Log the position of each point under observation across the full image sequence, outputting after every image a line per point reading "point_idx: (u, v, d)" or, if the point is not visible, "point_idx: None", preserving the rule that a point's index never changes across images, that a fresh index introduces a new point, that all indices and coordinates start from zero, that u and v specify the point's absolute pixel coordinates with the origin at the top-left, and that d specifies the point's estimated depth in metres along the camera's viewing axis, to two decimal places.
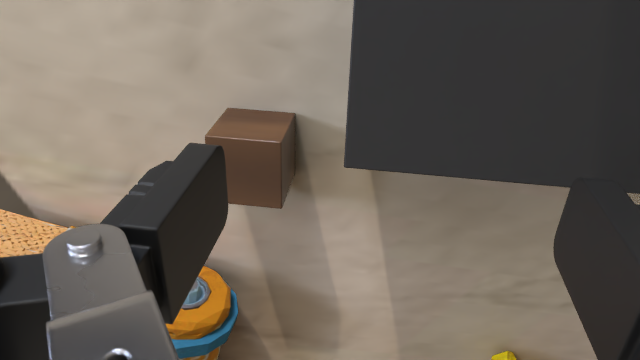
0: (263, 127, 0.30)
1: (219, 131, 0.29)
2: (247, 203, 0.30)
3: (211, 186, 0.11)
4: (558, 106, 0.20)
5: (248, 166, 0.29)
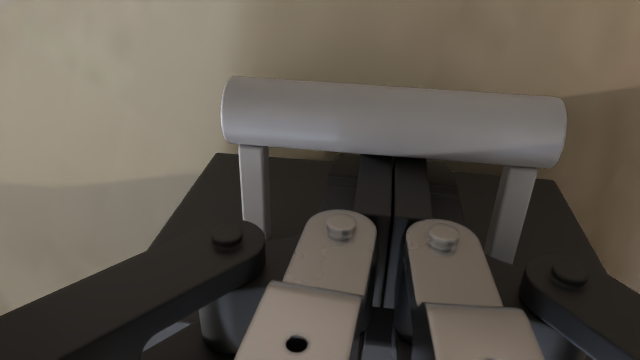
0: None
1: None
2: None
3: None
4: None
5: None
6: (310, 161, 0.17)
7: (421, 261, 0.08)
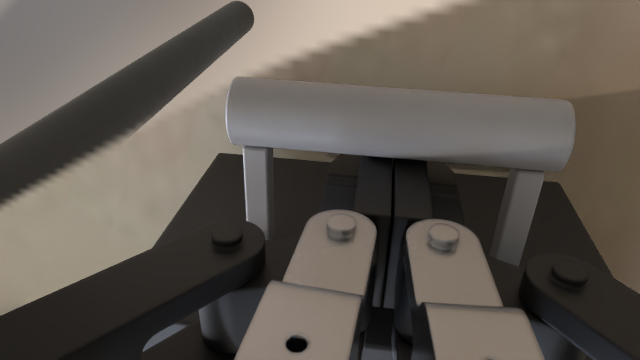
0: None
1: None
2: None
3: None
4: None
5: None
6: (313, 162, 0.17)
7: (421, 261, 0.08)
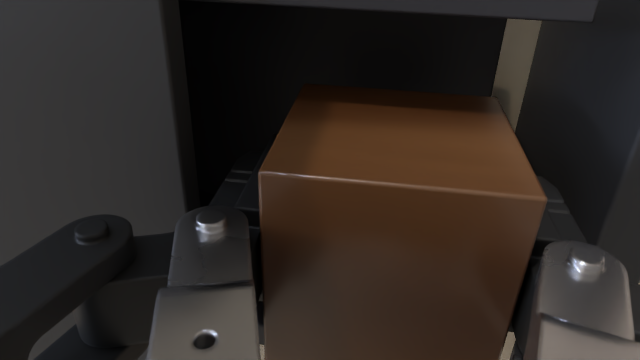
0: (440, 139, 0.09)
1: (304, 154, 0.09)
2: None
3: None
4: None
5: (403, 272, 0.08)
6: None
7: (553, 278, 0.07)
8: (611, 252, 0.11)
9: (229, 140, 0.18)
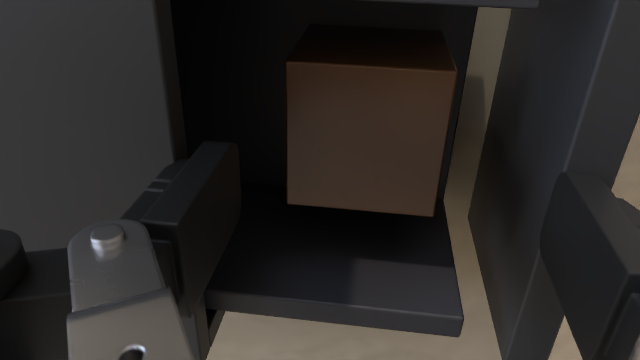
0: (399, 49, 0.14)
1: (312, 54, 0.14)
2: (361, 207, 0.15)
3: (226, 183, 0.11)
4: None
5: (374, 127, 0.14)
6: None
7: None
8: None
9: (219, 127, 0.19)
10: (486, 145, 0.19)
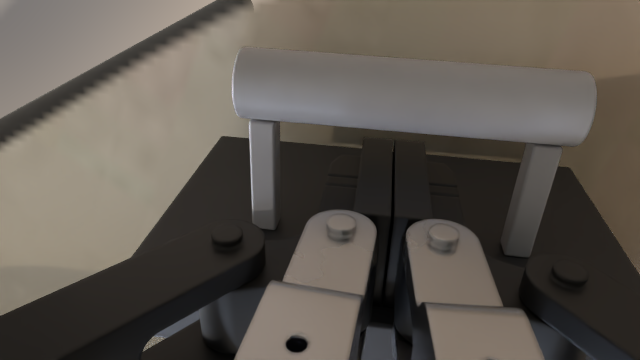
0: None
1: None
2: None
3: None
4: None
5: None
6: (318, 145, 0.16)
7: (421, 261, 0.08)
8: None
9: None
10: None
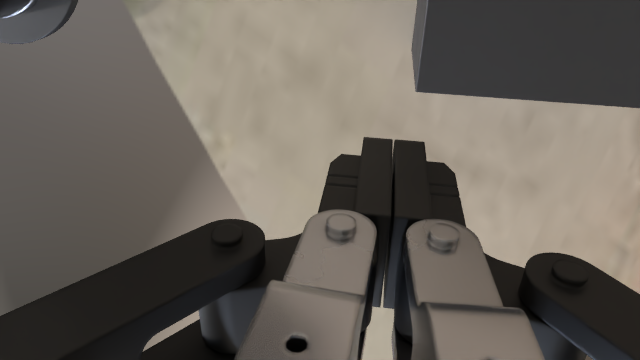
0: None
1: None
2: None
3: None
4: None
5: None
6: None
7: (421, 261, 0.08)
8: None
9: None
10: None
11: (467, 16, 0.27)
